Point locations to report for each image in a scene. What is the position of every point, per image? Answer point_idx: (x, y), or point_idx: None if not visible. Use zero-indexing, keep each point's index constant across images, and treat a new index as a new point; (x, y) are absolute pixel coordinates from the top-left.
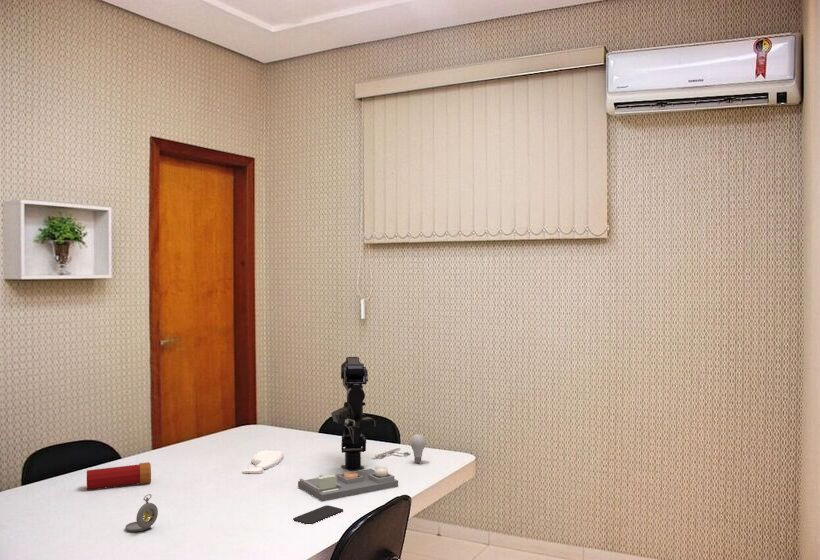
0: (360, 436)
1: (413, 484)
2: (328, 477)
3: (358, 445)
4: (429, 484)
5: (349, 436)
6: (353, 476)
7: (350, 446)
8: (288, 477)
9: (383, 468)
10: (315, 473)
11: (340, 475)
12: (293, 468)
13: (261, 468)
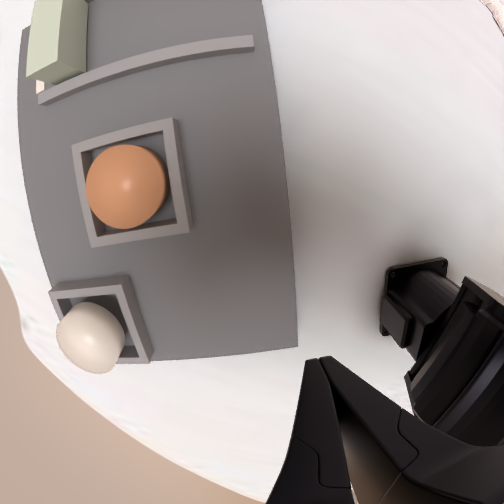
0: (436, 425)
1: (108, 390)
2: (30, 36)
3: (421, 376)
4: (102, 415)
5: (485, 366)
6: (87, 190)
7: (448, 333)
8: (408, 8)
9: (88, 357)
10: (425, 118)
11: (159, 130)
12: (496, 93)
13: (491, 5)
